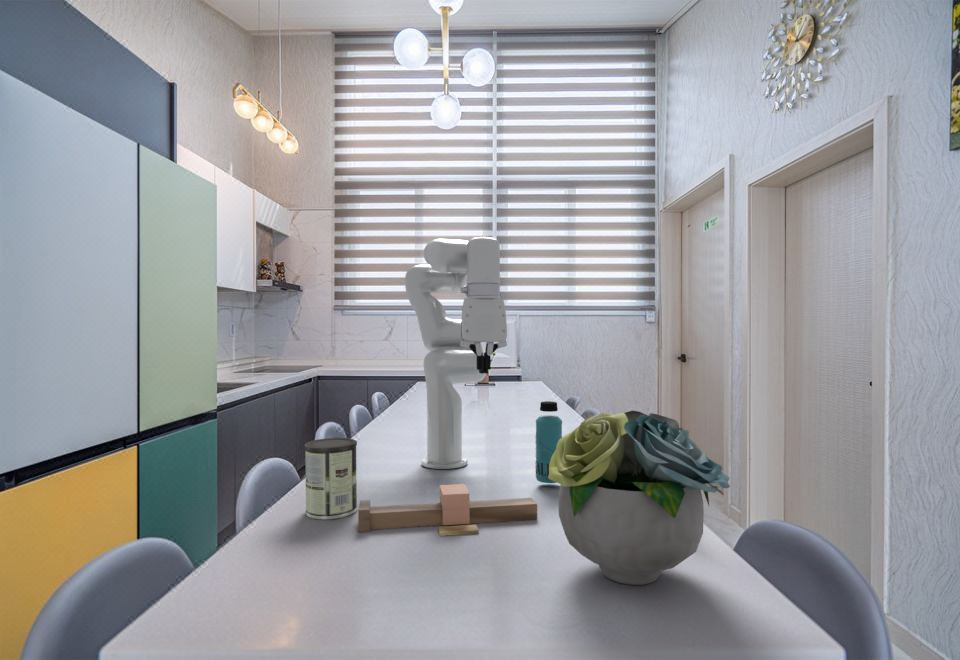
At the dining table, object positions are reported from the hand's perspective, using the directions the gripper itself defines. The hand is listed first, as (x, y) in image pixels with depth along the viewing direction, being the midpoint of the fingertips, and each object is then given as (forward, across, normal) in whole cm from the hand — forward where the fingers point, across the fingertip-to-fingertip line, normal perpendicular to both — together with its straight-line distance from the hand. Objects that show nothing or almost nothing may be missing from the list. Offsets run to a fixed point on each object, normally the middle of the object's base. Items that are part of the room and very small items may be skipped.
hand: (483, 372), depth 127 cm
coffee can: (+27, -33, -8) cm, 44 cm away
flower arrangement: (+27, +14, -46) cm, 55 cm away
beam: (+27, -9, -18) cm, 34 cm away
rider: (+27, -9, -18) cm, 34 cm away
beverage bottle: (+27, +16, +2) cm, 32 cm away
